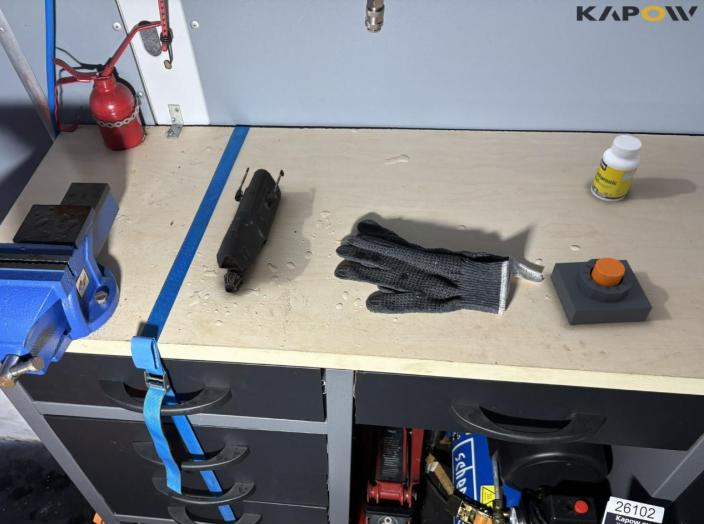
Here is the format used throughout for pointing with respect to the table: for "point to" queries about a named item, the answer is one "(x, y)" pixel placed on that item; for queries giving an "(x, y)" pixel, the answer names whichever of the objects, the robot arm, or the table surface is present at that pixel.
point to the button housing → (598, 295)
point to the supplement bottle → (617, 168)
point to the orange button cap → (608, 272)
